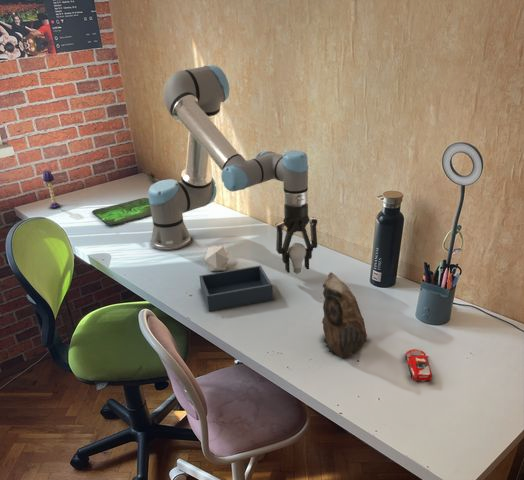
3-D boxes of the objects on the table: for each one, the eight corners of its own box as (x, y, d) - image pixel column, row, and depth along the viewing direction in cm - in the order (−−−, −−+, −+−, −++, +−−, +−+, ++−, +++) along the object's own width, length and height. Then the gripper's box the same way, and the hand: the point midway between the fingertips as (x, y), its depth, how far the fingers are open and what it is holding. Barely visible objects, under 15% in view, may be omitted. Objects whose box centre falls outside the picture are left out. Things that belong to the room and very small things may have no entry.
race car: (403, 355, 156) (404, 343, 153) (423, 354, 155) (425, 342, 153) (411, 385, 145) (412, 372, 143) (433, 385, 145) (434, 372, 142)
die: (220, 278, 198) (234, 253, 196) (198, 266, 197) (211, 240, 195) (222, 275, 207) (235, 251, 204) (200, 263, 206) (213, 239, 203)
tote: (201, 290, 191) (199, 275, 188) (261, 279, 195) (260, 265, 192) (209, 311, 180) (207, 296, 176) (273, 299, 183) (272, 284, 180)
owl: (344, 362, 154) (346, 298, 143) (307, 346, 161) (306, 284, 150) (369, 341, 162) (373, 279, 150) (332, 326, 169) (334, 266, 157)
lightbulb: (308, 270, 193) (308, 240, 187) (303, 278, 188) (303, 248, 182) (291, 268, 195) (290, 238, 189) (286, 276, 190) (285, 246, 184)
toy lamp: (60, 204, 265) (51, 168, 255) (61, 207, 261) (52, 171, 252) (50, 206, 263) (40, 170, 254) (51, 209, 260) (41, 173, 250)
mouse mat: (146, 197, 266) (145, 195, 265) (167, 211, 251) (166, 209, 250) (90, 212, 254) (90, 210, 253) (109, 227, 239) (108, 225, 238)
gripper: (269, 211, 173) (273, 278, 186) (329, 202, 176) (327, 269, 190) (263, 203, 179) (266, 269, 192) (320, 194, 182) (320, 259, 196)
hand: (297, 269), depth 191 cm, fingers closed on lightbulb, 6 cm apart
